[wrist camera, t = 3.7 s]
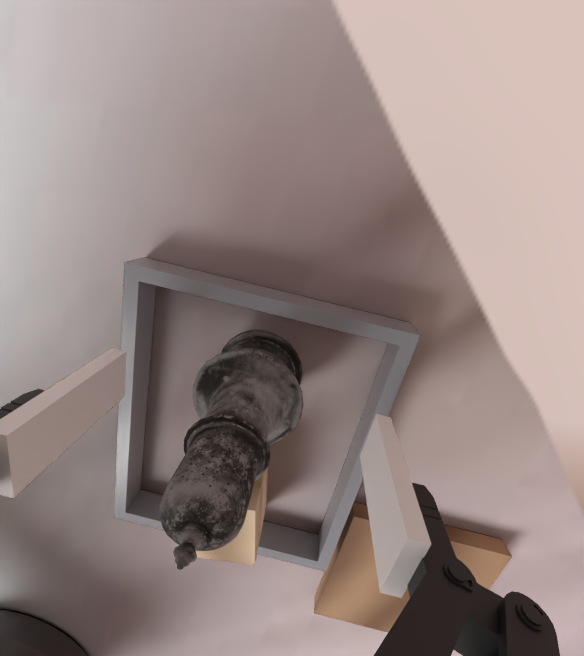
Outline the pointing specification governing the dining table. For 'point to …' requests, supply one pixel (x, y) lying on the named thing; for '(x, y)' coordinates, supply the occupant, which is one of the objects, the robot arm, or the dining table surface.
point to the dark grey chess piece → (230, 440)
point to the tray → (152, 273)
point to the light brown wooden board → (362, 581)
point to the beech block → (245, 530)
